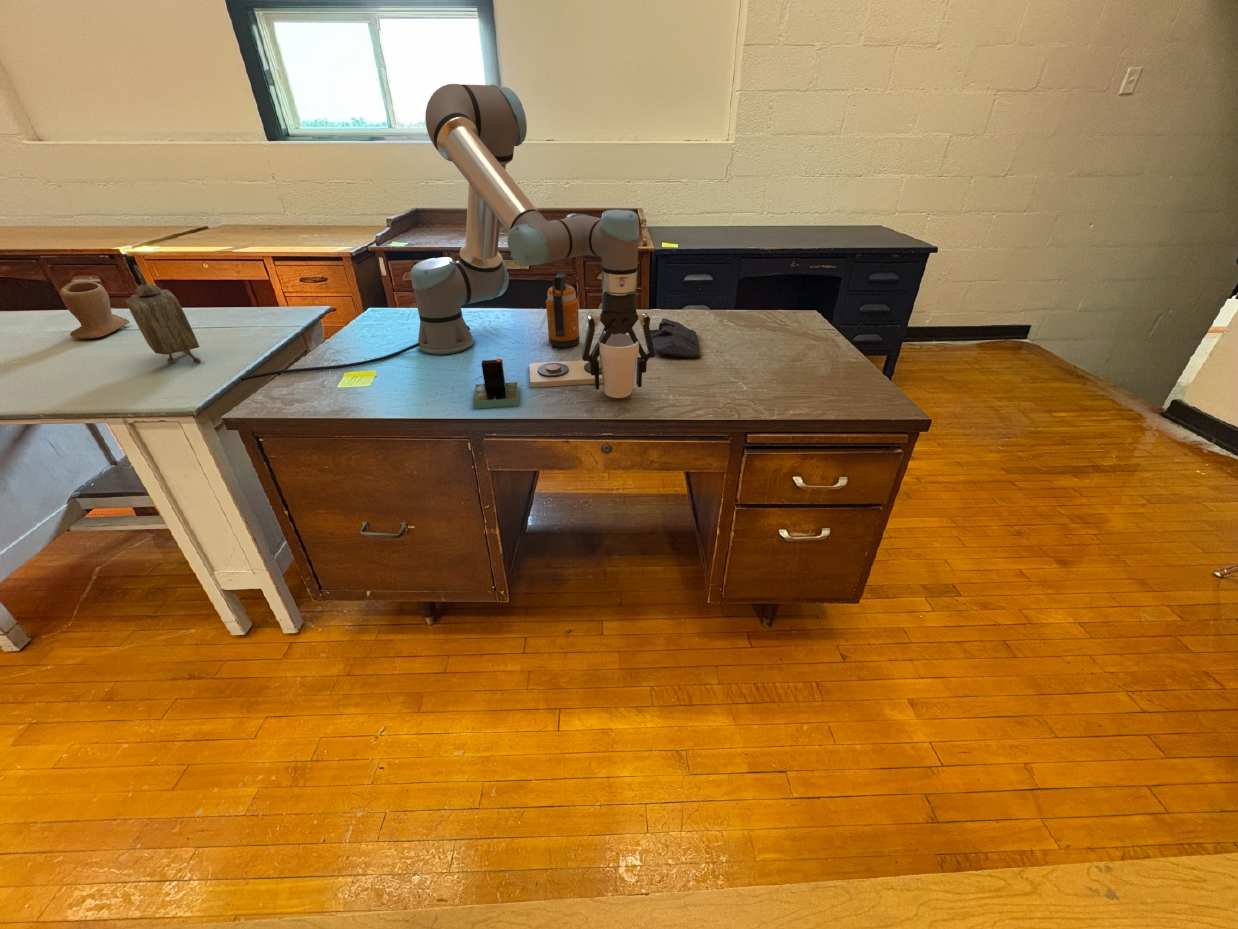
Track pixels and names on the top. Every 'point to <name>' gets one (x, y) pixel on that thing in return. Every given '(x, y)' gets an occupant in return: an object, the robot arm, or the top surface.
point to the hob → (562, 373)
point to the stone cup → (91, 309)
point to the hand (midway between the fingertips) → (618, 385)
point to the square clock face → (496, 397)
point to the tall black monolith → (493, 376)
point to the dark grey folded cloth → (675, 340)
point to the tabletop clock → (161, 320)
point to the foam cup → (618, 364)
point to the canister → (562, 313)
